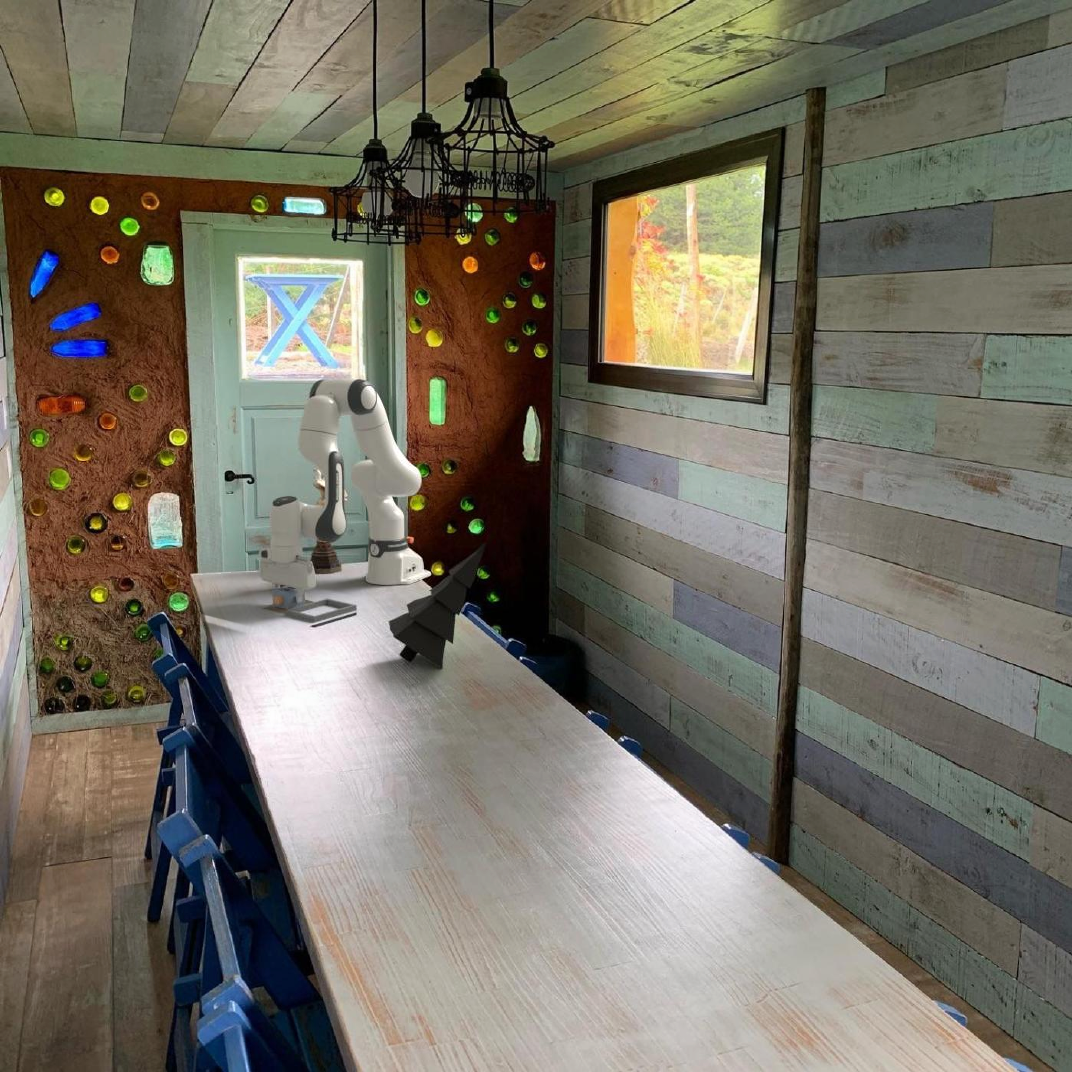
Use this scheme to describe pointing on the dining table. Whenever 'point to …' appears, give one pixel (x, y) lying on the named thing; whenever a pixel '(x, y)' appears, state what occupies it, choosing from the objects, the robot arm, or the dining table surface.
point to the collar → (286, 598)
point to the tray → (344, 609)
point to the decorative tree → (435, 614)
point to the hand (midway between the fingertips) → (288, 600)
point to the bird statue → (324, 552)
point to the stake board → (282, 608)
